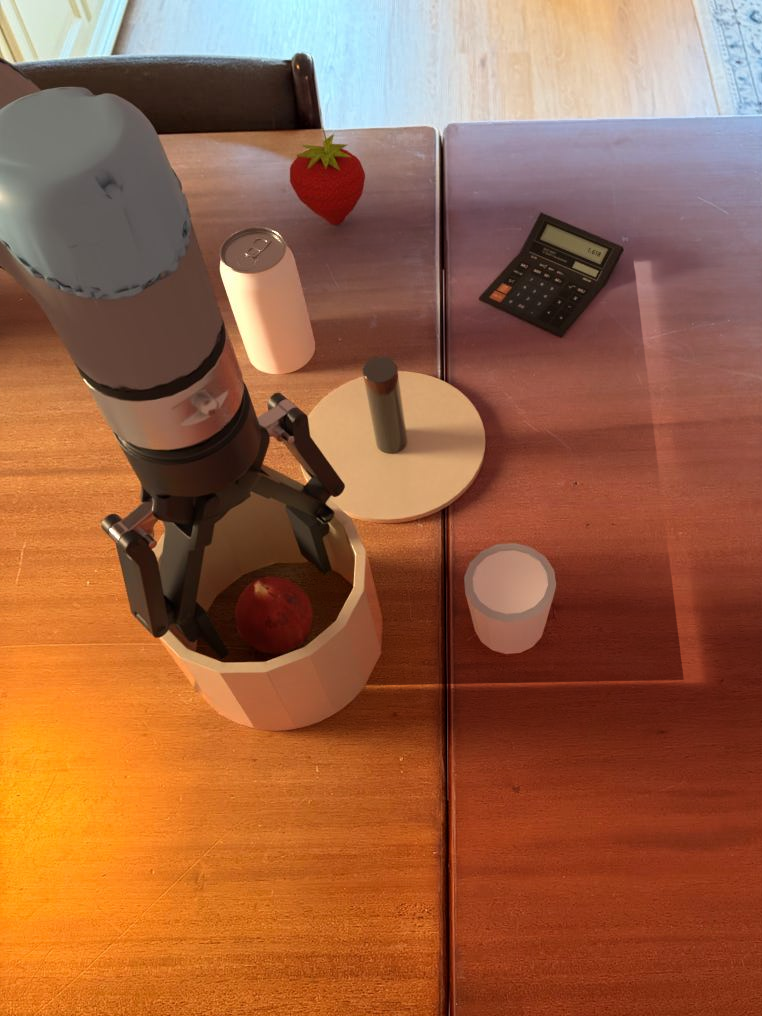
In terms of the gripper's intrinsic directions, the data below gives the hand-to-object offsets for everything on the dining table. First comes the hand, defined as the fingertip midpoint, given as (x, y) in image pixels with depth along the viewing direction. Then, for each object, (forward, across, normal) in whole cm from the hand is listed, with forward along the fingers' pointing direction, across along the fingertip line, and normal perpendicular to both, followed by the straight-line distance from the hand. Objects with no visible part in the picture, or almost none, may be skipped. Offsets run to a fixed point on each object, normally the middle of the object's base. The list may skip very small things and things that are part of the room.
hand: (266, 602), depth 70 cm
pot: (+6, 0, -1) cm, 6 cm away
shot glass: (+6, +13, -13) cm, 19 cm away
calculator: (+6, +44, +11) cm, 45 cm away
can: (+6, +20, +24) cm, 31 cm away
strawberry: (+6, +35, +33) cm, 49 cm away
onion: (+5, 0, 0) cm, 5 cm away
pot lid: (+5, +19, +7) cm, 21 cm away
